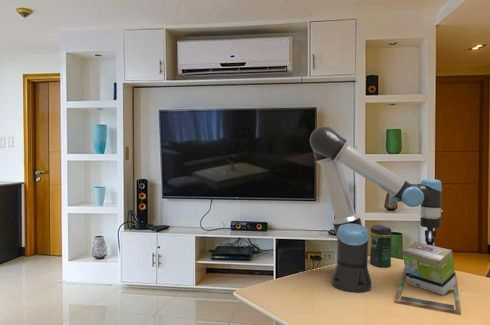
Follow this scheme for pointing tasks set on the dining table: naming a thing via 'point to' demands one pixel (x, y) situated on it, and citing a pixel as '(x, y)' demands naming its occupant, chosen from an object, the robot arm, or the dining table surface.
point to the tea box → (429, 267)
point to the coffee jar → (380, 246)
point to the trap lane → (426, 303)
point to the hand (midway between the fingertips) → (429, 274)
